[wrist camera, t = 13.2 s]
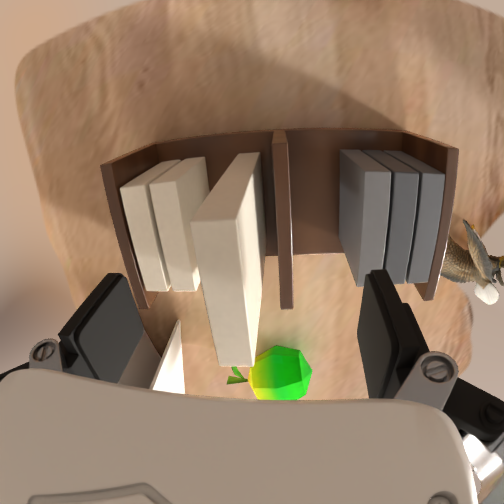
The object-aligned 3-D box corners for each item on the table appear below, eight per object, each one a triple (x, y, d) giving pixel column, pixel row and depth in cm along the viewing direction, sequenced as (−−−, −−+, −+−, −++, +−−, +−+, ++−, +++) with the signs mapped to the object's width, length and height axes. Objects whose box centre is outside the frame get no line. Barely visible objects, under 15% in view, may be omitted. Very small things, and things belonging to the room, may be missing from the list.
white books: (205, 156, 22) (175, 180, 16) (216, 241, 25) (196, 291, 19) (161, 161, 22) (119, 187, 16) (176, 243, 25) (146, 291, 19)
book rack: (406, 130, 20) (459, 148, 13) (398, 246, 25) (433, 300, 18) (151, 142, 22) (99, 165, 15) (172, 254, 27) (138, 309, 20)
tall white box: (131, 309, 31) (9, 570, 4) (180, 319, 31) (82, 611, 4) (146, 387, 37) (80, 580, 11) (185, 396, 37) (131, 600, 11)
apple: (315, 406, 25) (220, 416, 26) (318, 398, 30) (239, 408, 32) (303, 331, 27) (211, 345, 29) (308, 336, 33) (232, 349, 35)
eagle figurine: (513, 213, 21) (459, 191, 19) (536, 282, 17) (488, 277, 16) (465, 250, 27) (407, 239, 26) (480, 312, 24) (422, 314, 22)
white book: (260, 151, 21) (236, 218, 10) (266, 239, 24) (254, 367, 13) (238, 153, 21) (188, 221, 10) (246, 240, 25) (218, 366, 13)
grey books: (401, 150, 20) (445, 174, 14) (395, 235, 23) (427, 282, 17) (339, 149, 21) (364, 171, 14) (338, 237, 24) (356, 287, 18)
